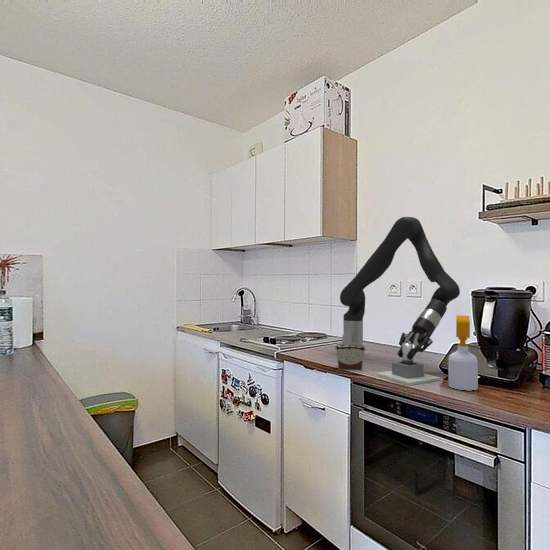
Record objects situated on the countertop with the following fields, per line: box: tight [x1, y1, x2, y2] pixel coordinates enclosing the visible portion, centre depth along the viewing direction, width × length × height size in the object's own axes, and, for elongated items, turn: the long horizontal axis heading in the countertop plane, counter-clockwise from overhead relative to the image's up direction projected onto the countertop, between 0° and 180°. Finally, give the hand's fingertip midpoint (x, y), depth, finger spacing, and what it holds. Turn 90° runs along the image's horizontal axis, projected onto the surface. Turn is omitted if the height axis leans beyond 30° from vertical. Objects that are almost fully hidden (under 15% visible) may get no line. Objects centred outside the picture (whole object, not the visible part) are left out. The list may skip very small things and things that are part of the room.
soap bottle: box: [447, 314, 479, 392], centre depth 132 cm, size 9×9×25 cm
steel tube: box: [401, 343, 414, 365], centre depth 145 cm, size 4×4×9 cm
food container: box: [334, 343, 366, 372], centre depth 160 cm, size 12×6×10 cm, turn 84°
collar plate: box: [376, 360, 441, 386], centre depth 145 cm, size 16×16×6 cm
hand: (403, 357), depth 144 cm, fingers closed on steel tube, 3 cm apart
